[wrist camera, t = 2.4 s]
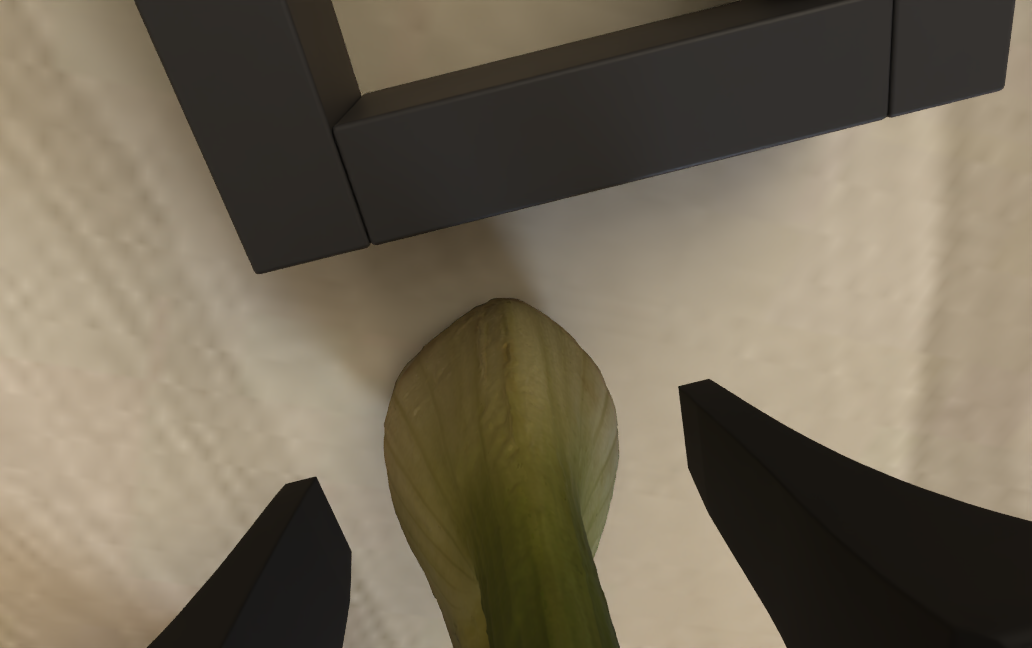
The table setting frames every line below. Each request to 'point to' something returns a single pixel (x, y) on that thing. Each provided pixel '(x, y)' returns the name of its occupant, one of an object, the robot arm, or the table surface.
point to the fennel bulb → (506, 478)
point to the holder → (537, 107)
